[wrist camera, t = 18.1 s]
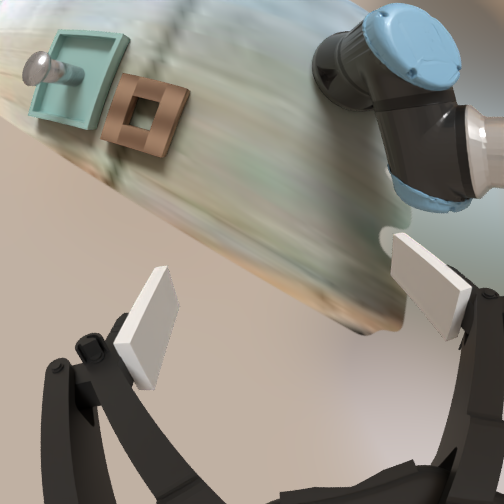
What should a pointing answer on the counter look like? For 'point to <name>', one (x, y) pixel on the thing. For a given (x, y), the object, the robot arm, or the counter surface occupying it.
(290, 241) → the counter surface
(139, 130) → the holder
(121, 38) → the tray
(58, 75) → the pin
